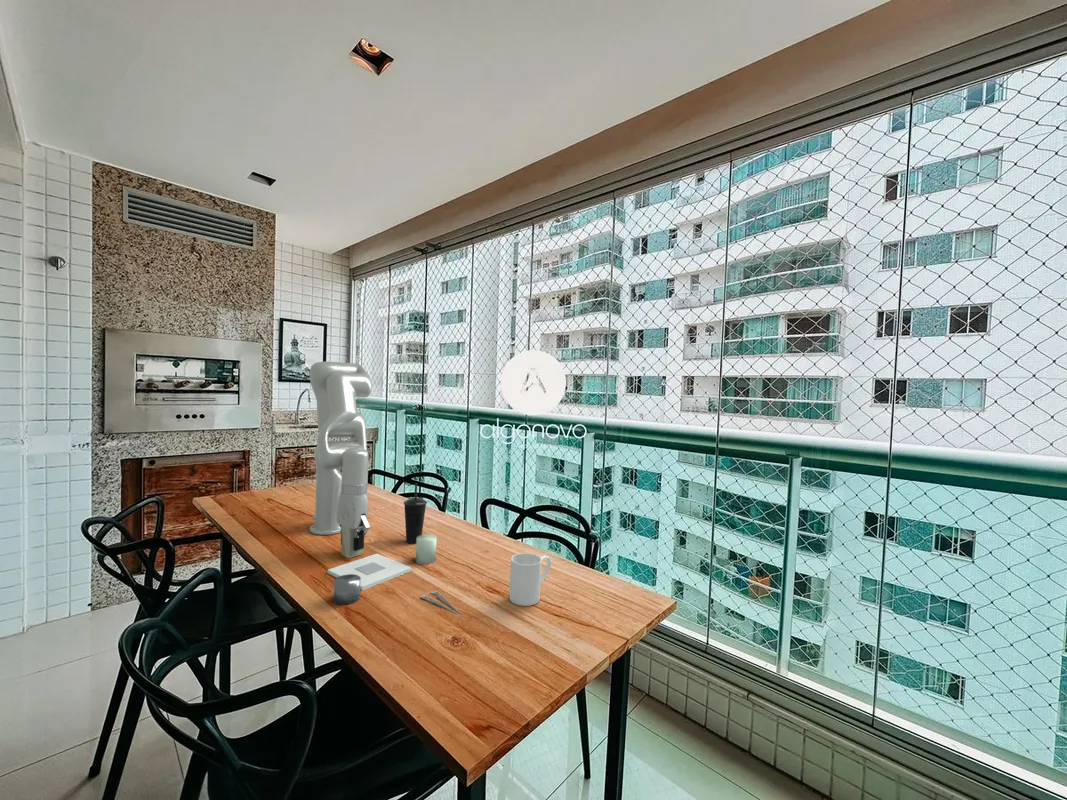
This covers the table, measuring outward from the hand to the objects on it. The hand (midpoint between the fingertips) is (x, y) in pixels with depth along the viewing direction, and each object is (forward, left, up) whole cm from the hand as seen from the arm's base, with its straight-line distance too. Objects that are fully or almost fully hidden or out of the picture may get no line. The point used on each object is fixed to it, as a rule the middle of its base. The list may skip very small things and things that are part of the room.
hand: (352, 546), depth 138 cm
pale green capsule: (+20, +12, -3) cm, 23 cm away
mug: (+58, +14, -3) cm, 60 cm away
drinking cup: (+5, +20, -3) cm, 21 cm away
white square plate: (+15, -4, -3) cm, 16 cm away
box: (0, 0, -3) cm, 3 cm away
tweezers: (+46, -4, -3) cm, 46 cm away
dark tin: (+24, -17, -3) cm, 30 cm away
